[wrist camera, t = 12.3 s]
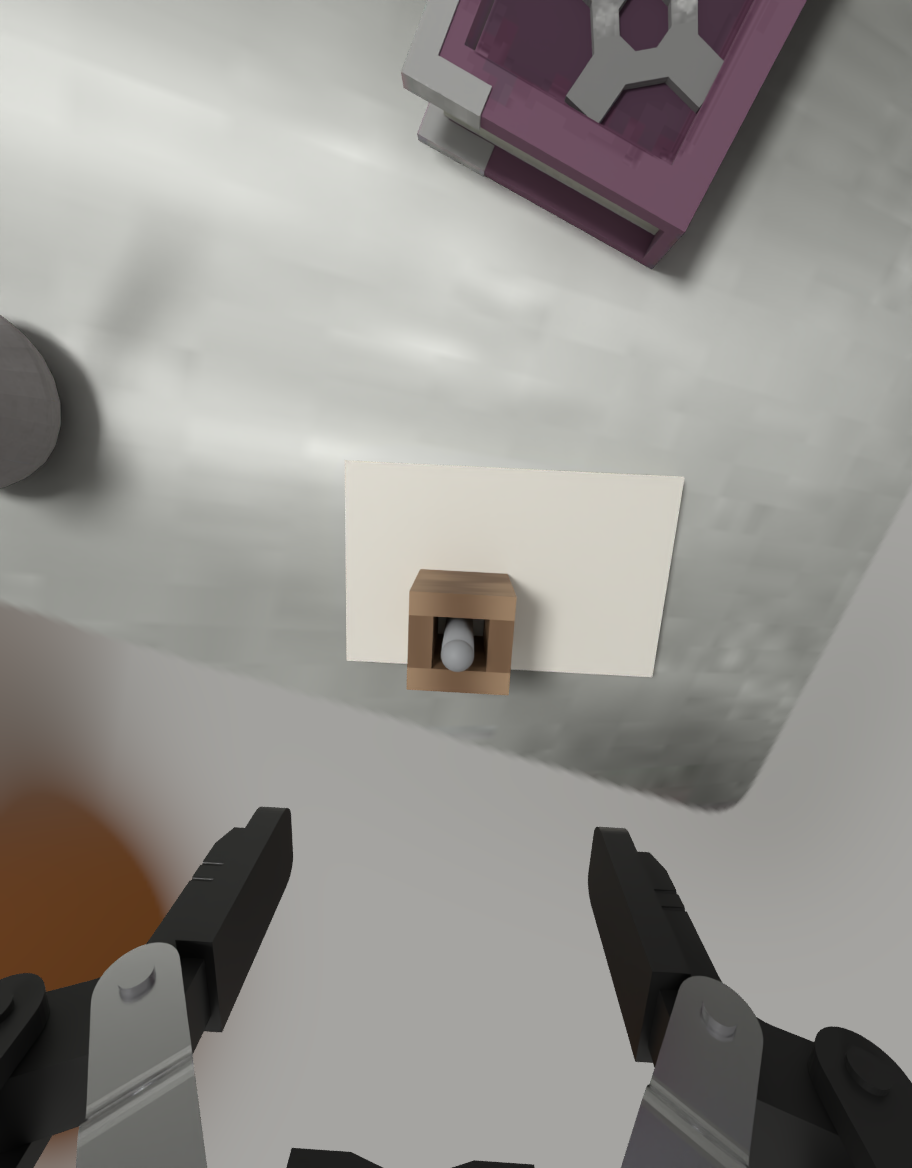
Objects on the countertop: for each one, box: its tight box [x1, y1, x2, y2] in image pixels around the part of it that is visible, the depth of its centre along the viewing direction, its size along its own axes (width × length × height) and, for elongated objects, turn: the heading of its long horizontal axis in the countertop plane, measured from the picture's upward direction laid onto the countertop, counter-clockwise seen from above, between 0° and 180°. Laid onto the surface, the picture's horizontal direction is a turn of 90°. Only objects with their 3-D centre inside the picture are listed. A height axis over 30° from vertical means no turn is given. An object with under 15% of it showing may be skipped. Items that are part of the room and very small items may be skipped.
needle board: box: [345, 460, 685, 677], centre depth 28 cm, size 22×14×10 cm, turn 87°
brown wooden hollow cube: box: [407, 569, 517, 695], centre depth 29 cm, size 6×6×6 cm
